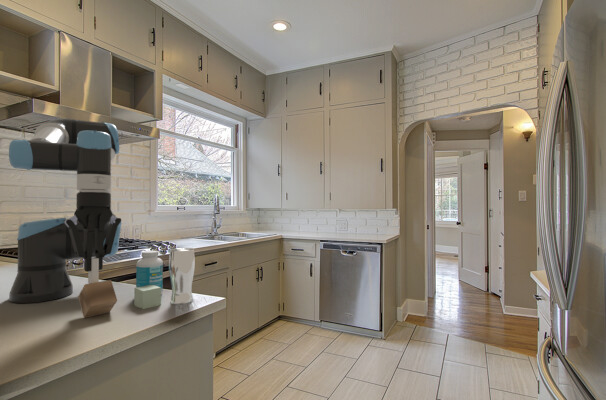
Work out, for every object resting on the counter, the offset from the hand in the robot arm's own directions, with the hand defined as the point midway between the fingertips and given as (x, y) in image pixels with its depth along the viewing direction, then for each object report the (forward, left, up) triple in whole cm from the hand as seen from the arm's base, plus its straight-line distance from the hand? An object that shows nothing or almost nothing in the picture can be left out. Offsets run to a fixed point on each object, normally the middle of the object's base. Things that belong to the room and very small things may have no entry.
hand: (93, 283), depth 87 cm
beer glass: (+8, +20, -8) cm, 23 cm away
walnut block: (0, 0, -5) cm, 5 cm away
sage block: (+4, +12, -8) cm, 15 cm away
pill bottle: (-5, +17, -8) cm, 19 cm away
